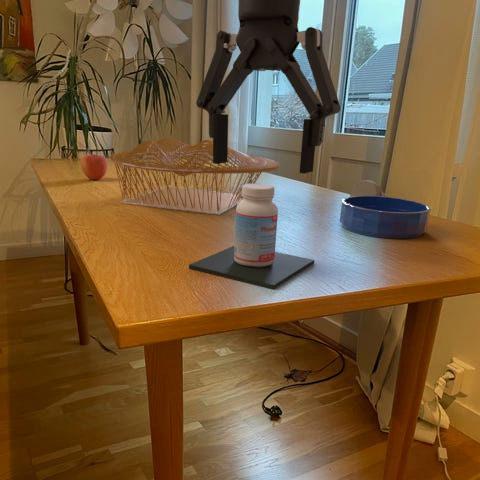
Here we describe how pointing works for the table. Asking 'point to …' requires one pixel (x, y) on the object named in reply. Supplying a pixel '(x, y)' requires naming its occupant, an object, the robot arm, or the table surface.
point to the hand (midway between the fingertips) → (261, 167)
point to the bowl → (384, 216)
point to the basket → (182, 196)
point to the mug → (366, 189)
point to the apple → (94, 166)
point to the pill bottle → (256, 226)
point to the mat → (253, 268)
